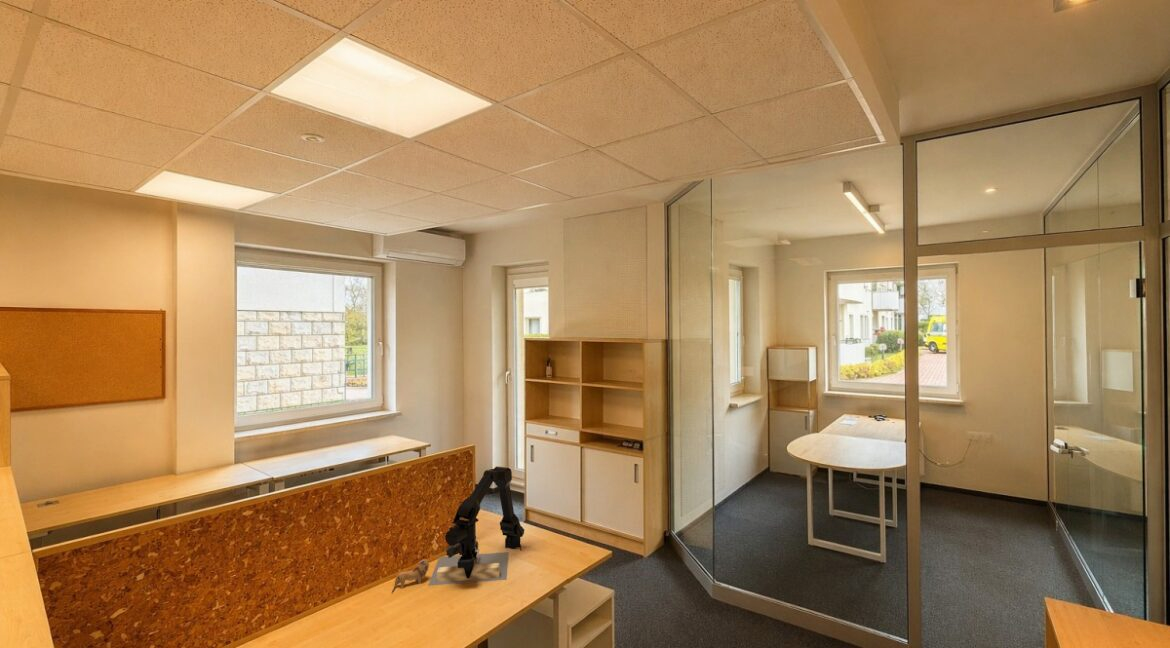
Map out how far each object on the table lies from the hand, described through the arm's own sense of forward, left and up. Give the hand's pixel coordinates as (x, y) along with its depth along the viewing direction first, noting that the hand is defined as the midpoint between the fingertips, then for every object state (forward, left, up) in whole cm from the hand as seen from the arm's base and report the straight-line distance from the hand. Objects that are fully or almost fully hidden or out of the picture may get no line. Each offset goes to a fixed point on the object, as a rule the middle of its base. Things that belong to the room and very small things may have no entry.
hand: (468, 575), depth 198 cm
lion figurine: (+22, +1, -2) cm, 22 cm away
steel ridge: (0, -13, -1) cm, 13 cm away
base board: (0, -8, -2) cm, 9 cm away
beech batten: (0, 0, -1) cm, 1 cm away
